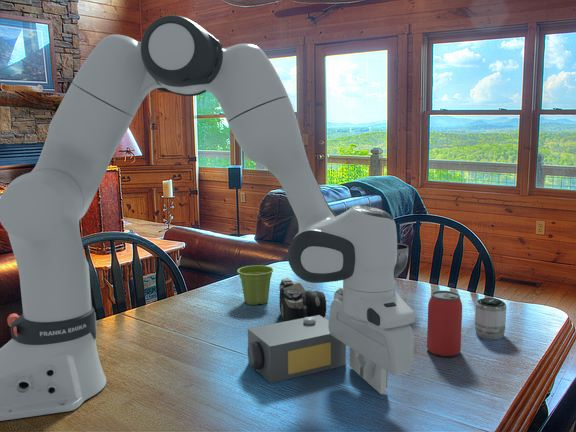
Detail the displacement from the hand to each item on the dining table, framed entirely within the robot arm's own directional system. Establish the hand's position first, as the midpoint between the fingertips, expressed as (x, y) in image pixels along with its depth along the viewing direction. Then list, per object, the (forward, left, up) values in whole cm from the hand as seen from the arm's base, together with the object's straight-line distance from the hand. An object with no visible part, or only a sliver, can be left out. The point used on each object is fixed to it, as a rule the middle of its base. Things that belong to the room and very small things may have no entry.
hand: (365, 377), depth 99 cm
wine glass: (+33, +36, -2) cm, 49 cm away
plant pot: (+3, +54, -2) cm, 54 cm away
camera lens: (+38, +8, -2) cm, 39 cm away
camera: (+7, +35, -3) cm, 36 cm away
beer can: (+23, +6, -2) cm, 24 cm away
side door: (+2, +2, -2) cm, 4 cm away
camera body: (-6, +15, -2) cm, 16 cm away
